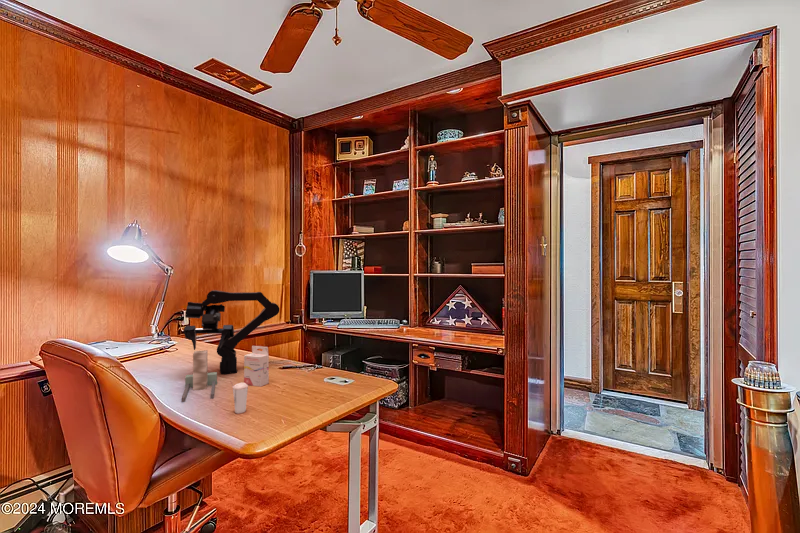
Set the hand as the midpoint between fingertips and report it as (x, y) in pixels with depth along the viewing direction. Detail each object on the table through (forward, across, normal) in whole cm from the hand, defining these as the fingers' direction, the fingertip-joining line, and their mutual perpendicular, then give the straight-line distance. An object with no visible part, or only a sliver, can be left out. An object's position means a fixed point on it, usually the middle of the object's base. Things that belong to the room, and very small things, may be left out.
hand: (206, 348), depth 160 cm
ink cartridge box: (+16, +20, +2) cm, 26 cm away
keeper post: (+16, -1, +3) cm, 16 cm away
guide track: (+19, 0, 0) cm, 19 cm away
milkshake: (+37, +16, -20) cm, 45 cm away
